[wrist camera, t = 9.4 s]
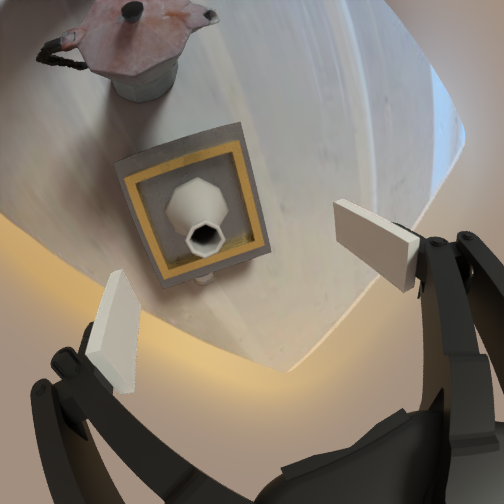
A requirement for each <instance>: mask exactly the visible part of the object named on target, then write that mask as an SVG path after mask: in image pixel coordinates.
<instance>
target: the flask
mask: <svg viewBox="0 0 504 504" xmlns="http://www.w3.org/2000/svg"><path fill="white" fill-rule="evenodd" d="M228 211H229V208H228V206H227V203H226V201H225V199H224V197H223V195H222V192H221V190H220V188H218V187H216V186H214V185H213V184H211V183H209V182H207V181H205V180H203V179H201V178H199V177H197V178H194V179H192V180H190V181H188V182H186V183H184V184H182V185H180V186H178V187H176V188H175V189H174V191H173V193H172V195H171V197H170V199H169V201H168V203H167V205H166V207H165V209H164V212H165V214H166V216H167V218H168V220H169V222H170V223H171V225H172V227H173V229H174V231H175V232H177V233H179V234H182V235H184V236H186V238H185V242H186V244H187V245H188V247H189V249H190V251H191V253H192V254H195V255H197V256H199V257H202V258H204V259H206V258H208V257H210V256H212V255H214V254H216V253H218V252H219V251H220V249H221V247H222V245H223V244H224V242H225V240H226V239H225V237H224V235H223V233H222V231H221V229H220V225H221V223H222V222H223V220H224V218H225V216H226V215H227V213H228Z"/></svg>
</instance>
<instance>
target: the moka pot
mask: <svg viewBox="0 0 504 504" xmlns="http://www.w3.org/2000/svg"><path fill="white" fill-rule="evenodd" d="M219 21H220V19H219V15H218V13H217V12H216V10H215V9H213V8H208V7H206V6H202V5H198V4H194V3H191V1H190V0H95V1H94V2H93V4H92V5H91V7H90V9H89V11H88V12H87V14H86V16H85V18H84V20H83V21H82V23H81V25H80V26H79V27H77V28H74V29H71V30H68V31H66V32H64V33H63V35H62V37H60V38H57V39H54V40H51V41H49V42H46V43H45V45H44V47H43V48H42V49H41V52H39V54H38V56H37V57H36V61H37V62H41V63H43V64H48V65H50V66H55V65H58V66H67V67H69V68H70V67H72V68H74V69H77V70H84V69H87V68H89V69H90V71H91V72H93V73H96V74H98V75H101V76H103V77H106V78H108V79H111V81H112V83H113V85H114V88H115V89H116V91H117V93H118V95H119V96H121V97H123V98H125V99H127V100H130V101H133V102H135V103H141V102H146V101H150V100H154V99H157V98H159V97H160V96H161V95H163V94H164V93H165V92H166V91H167V90H168V89H169V88H170V87H171V86H172V85H173V84H174V81H175V78H176V74H177V69H178V61H177V59H178V58H179V56H180V55H181V53H182V51H183V49H184V47H185V44H186V42H187V40H188V38H189V36H190V34H191V33H193V32H195V31H197V30H199V29H200V28H202V27H204V26H208V25H212V24H215V23H218V22H219ZM74 48H78V49H79V51H80V52H81V54H82V56H83V58H84V60H85V62H78V61H77V62H74V60H71V59H64V58H63V57H58V56H56V55H52V54H53V53H56V52H60V51H64V52H67V51H70V50H72V49H74Z"/></svg>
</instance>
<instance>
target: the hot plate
mask: <svg viewBox="0 0 504 504" xmlns="http://www.w3.org/2000/svg"><path fill="white" fill-rule="evenodd" d="M113 165H114V168H115V171H116V174H117V177H118V180H119V183H120V186H121V188H122V191H123V194H124V197H125V200H126V202H127V205H128V208H129V210H130V213H131V216H132V218H133V221H134V223H135V226H136V228H137V231H138V233H139V236H140V238H141V241H142V243H143V245H144V248H145V250H146V252H147V255H148V257H149V259H150V262H151V264H152V266H153V268H154V271H155V273H156V275H157V277H158V279H159V281H160V284H161V286H162V288H163V289H165V288H168V287H171V286H174V285H176V284H179V283H182V282H185V281H188V280H191V279H194V280H195V283H196V284H197V285H199V286H204V285H208V284H210V283H211V282H213V281H214V280H215V274H214V272H215V271H218V270H221V269H224V268H226V267H229V266H232V265H235V264H238V263H241V262H244V261H247V260H250V259H253V258H256V257H258V256H261V255H264V254H267V253H270V252H271V248H270V243H269V239H268V234H267V230H266V226H265V221H264V217H263V213H262V208H261V204H260V200H259V196H258V192H257V187H256V183H255V179H254V175H253V171H252V167H251V162H250V158H249V154H248V150H247V146H246V142H245V138H244V134H243V130H242V126H241V122H237V123H233V124H229V125H225V126H221V127H217V128H214V129H210V130H206V131H203V132H199V133H196V134H193V135H189V136H186V137H183V138H180V139H177V140H174V141H171V142H168V143H165V144H162V145H159V146H156V147H153V148H150V149H148V150H145V151H142V152H140V153H137V154H135V155H132V156H129V157H127V158H124V159H122V160H120V161H117V162H115V163H113ZM197 177H199V178H201V179H203V180H205V181H207V182H209V183H211V184H213V185H214V186H216V187H218V188H220V190H221V192H222V195H223V197H224V199H225V201H226V203H227V206H228V208H229V211H228V213H227V215H226V216H225V218H224V220H223V222H222V223H221V225H220V229H221V231H222V233H223V235H224V237H225V239H226V240H225V242H224V244H223V245H222V247H221V249H220V251H219V252H218V253H216V254H214V255H212V256H210V257H208V258H206V259H204V258H202V257H199V256H197V255H195V254H192V253H191V251H190V249H189V247H188V245H187V244H186V242H185V238H186V236H184V235H182V234H179V233H177V232H175V231H174V229H173V227H172V225H171V223H170V222H169V220H168V218H167V216H166V214H165V212H164V209H165V207H166V205H167V203H168V201H169V199H170V197H171V195H172V193H173V191H174V189H175V188H176V187H178V186H180V185H182V184H184V183H186V182H188V181H190V180H192V179H194V178H197Z"/></svg>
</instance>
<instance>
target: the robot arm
mask: <svg viewBox="0 0 504 504" xmlns="http://www.w3.org/2000/svg"><path fill="white" fill-rule="evenodd" d="M333 206H334V216H335V227H336V239H337V242H339V243H340V244H341V245H343V246H344V247H345V248H347V249H348V250H349V251H351V252H352V253H353V254H355V255H356V256H357V257H359V258H360V259H361V260H363V261H364V262H365V263H366V264H368V265H369V266H370V267H372V268H373V269H374V270H375V271H377V272H378V273H379V274H381V275H382V276H383V277H384V278H386V279H387V280H388V281H389V282H391V283H392V284H393V285H394V286H396V287H397V288H398V289H399V290H401V291H402V292H403V293H404V292H406V291H408V290H410V289H411V288H413V287H414V284H415V277H417V278H418V279H420V280H421V281H420V287H419V292H418V299H419V298H420V296H421V307H422V321H423V349H424V365H423V367H424V368H423V393H422V401H421V405H420V408H419V411H414V412H410V413H406V411H405V410H404V409H403V408H402V409H400V410H399V411H397V412H396V413H394V414H392V415H391V416H389V417H388V418H386V419H384V420H383V421H381V422H379V423H378V424H376V425H375V426H374V427H373V428H372V429H371V430H370V431H369V432H368V433H367V434H365V435H364V436H363V437H362V438H361V439H360V440H358V441H357V442H356V443H355V444H354V445H352V446H351V447H349V448H345V449H341V450H337V451H333V452H328V453H323V454H318V455H313V456H311V457H308V458H306V459H303V460H301V461H298V462H295V463H293V464H290V465H287V466H284V467H281V470H282V473H283V474H281V475H279V476H278V477H276V478H275V479H274V480H272V481H271V482H270V483H269V484H267V485H266V486H265V487H264V489H263V490H262V491H261V492H260V493H259V495H258V496H257V497H256V499H255V501H254V502H253V501H251V500H249V499H247V498H245V497H243V496H242V495H240V494H238V493H236V492H234V491H233V490H231V489H229V488H227V487H226V486H224V485H222V484H221V483H219V482H218V481H216V480H214V479H213V478H211V477H209V476H208V475H207V474H205V473H204V472H202V471H201V470H199V469H198V468H197V467H195V466H193V465H192V464H191V463H189V462H188V461H187V460H185V459H184V458H183V457H181V456H180V455H179V454H177V453H176V452H175V451H174V450H172V449H171V448H170V447H168V446H167V445H166V444H165V443H163V442H162V441H161V440H160V439H159V438H158V437H156V436H155V435H154V434H153V433H152V432H151V431H149V430H148V429H147V428H146V427H145V426H144V425H143V424H142V423H141V422H140V421H138V420H137V419H136V418H135V417H134V416H133V415H132V414H131V413H130V412H129V411H128V410H127V409H126V408H125V407H124V406H123V405H122V404H121V403H120V402H119V401H118V400H117V399H116V398H115V397H114V396H113V388H114V389H115V390H116V391H117V392H118V393H119V394H120V395H123V394H128V393H133V392H135V370H136V353H137V341H138V330H139V320H140V311H141V305H140V303H139V301H138V299H137V297H136V295H135V293H134V291H133V290H132V288H131V286H130V284H129V282H128V279H127V277H126V275H125V273H124V271H123V269H120V270H117V271H114V272H111V274H110V277H109V279H108V282H107V285H106V288H105V291H104V294H103V296H102V299H101V303H100V305H99V308H98V311H97V315H96V318H95V321H94V322H91V323H89V325H88V326H87V328H86V329H85V331H84V334H83V339H82V341H81V345H80V347H79V351H78V354H77V353H76V352H75V350H74V349H73V348H71V347H65V348H62V349H60V350H59V351H58V352H57V353H56V354H55V355H54V356H53V358H52V360H51V368H52V369H53V370H54V371H55V372H56V373H57V375H58V376H59V377H60V378H61V379H62V380H61V381H59V382H57V383H55V384H52V383H51V382H50V381H49V380H47V379H40V380H39V381H37V382H36V383H35V384H34V385H33V387H32V390H31V394H30V396H31V406H32V414H33V422H34V428H35V434H36V439H37V444H38V449H39V454H40V458H41V462H42V466H43V470H44V473H45V477H46V480H47V484H48V487H49V490H50V493H51V496H52V499H53V501H54V504H125V502H124V501H123V499H122V498H121V496H120V494H119V492H118V490H117V488H116V487H115V485H114V483H113V481H112V479H111V478H110V475H109V473H108V471H107V469H106V467H105V465H104V463H103V461H102V459H101V456H100V454H99V452H98V450H97V447H96V445H95V442H94V440H93V438H92V435H91V433H90V430H89V427H88V424H87V422H86V419H89V420H90V422H91V423H92V424H93V426H94V427H95V428H96V430H97V431H98V432H99V434H100V435H101V436H102V437H103V439H104V440H105V441H106V442H107V443H108V445H109V446H110V447H111V448H112V449H113V450H114V451H115V453H116V454H117V455H118V456H119V457H120V458H121V459H122V461H123V462H124V463H125V464H126V465H127V466H128V467H129V468H130V469H131V470H132V471H133V472H134V473H135V474H136V475H137V476H138V477H139V478H140V479H141V480H142V481H143V482H144V483H145V484H146V485H147V486H148V487H149V488H150V489H152V490H153V491H154V492H155V493H156V494H157V495H158V496H159V497H160V498H161V499H163V500H164V502H165V504H504V422H497V421H495V414H494V397H493V386H492V378H491V370H490V364H489V359H488V356H487V355H486V354H480V353H479V348H478V343H477V338H476V332H475V327H476V329H477V331H478V333H479V335H480V337H481V339H482V341H483V344H484V346H485V348H486V350H487V352H488V355H489V357H490V360H491V362H492V365H493V367H494V370H495V373H496V375H497V378H498V381H499V383H500V386H501V388H502V391H503V394H504V266H503V264H502V263H501V262H500V261H499V259H498V258H497V257H496V256H495V255H494V254H493V253H492V252H491V250H490V249H489V248H488V247H487V246H486V245H485V244H484V243H483V242H482V241H481V239H480V238H479V237H478V236H476V235H475V234H474V233H471V232H470V231H469V232H468V231H461V232H459V233H458V234H457V240H456V242H451V243H449V242H448V241H447V240H445V239H444V238H441V237H429V238H427V239H426V238H424V237H423V236H421V235H419V234H417V233H415V232H413V231H411V230H410V229H408V228H406V227H404V226H402V225H400V224H398V223H394V222H390V221H388V220H386V219H384V218H382V217H380V216H378V215H376V214H374V213H372V212H370V211H368V210H366V209H364V208H362V207H359V206H357V205H355V204H353V203H351V202H349V201H347V200H345V199H341V200H337V201H334V202H333ZM472 271H473V272H474V273H473V274H472ZM474 325H475V327H474Z"/></svg>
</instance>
